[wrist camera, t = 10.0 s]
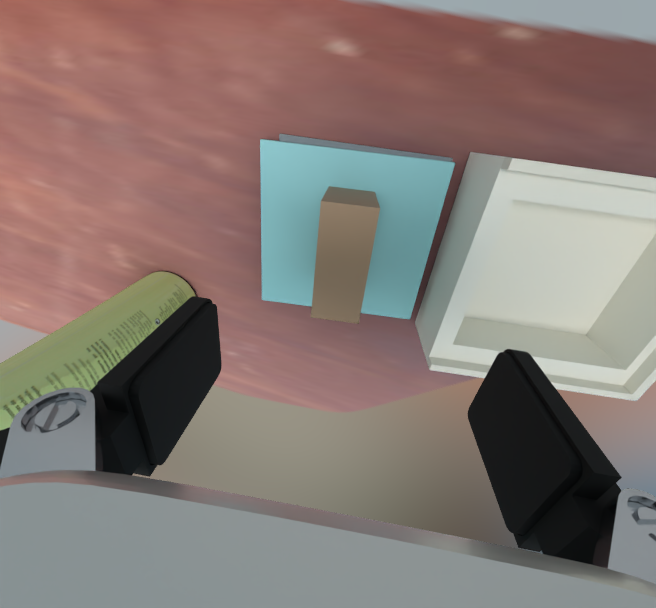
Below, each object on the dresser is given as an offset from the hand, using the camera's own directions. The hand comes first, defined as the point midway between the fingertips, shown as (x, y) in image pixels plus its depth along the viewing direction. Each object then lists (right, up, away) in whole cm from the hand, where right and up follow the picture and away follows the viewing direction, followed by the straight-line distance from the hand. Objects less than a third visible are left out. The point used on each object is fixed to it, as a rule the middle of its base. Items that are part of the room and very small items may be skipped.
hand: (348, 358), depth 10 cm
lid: (+1, +7, +12) cm, 13 cm away
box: (+14, +5, +12) cm, 19 cm away
